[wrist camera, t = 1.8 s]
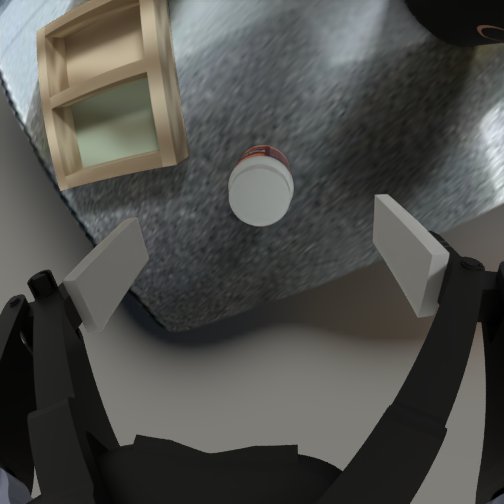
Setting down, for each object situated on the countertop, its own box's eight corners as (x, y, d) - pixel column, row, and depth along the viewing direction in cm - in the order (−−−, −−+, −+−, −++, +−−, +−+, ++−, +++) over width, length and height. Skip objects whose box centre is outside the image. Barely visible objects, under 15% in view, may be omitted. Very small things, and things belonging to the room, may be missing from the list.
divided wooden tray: (59, 34, 19) (36, 31, 15) (166, -12, 17) (151, -25, 14) (81, 179, 27) (60, 190, 24) (189, 155, 26) (176, 164, 22)
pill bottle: (261, 133, 24) (256, 146, 17) (300, 169, 26) (311, 197, 18) (226, 171, 26) (207, 200, 19) (265, 204, 28) (261, 245, 20)
